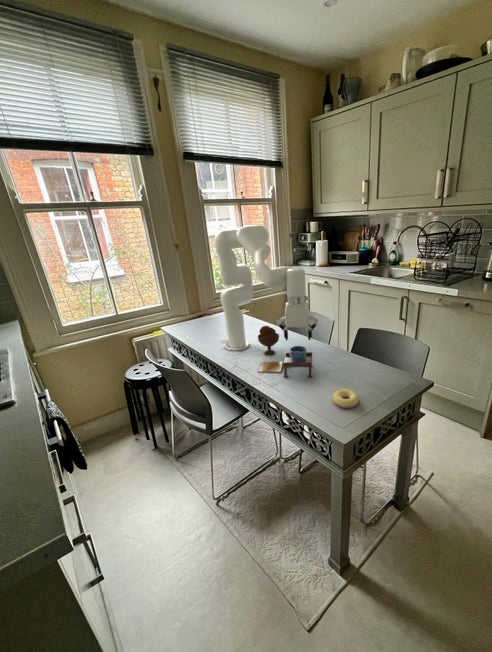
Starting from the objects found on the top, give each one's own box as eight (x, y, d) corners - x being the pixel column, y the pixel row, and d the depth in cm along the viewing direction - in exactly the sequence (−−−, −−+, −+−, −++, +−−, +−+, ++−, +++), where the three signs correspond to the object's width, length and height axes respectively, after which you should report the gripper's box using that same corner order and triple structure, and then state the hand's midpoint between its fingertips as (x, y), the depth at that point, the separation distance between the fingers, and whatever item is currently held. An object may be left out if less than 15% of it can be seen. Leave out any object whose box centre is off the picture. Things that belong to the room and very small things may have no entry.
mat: (258, 372, 143) (258, 371, 142) (262, 362, 152) (262, 361, 151) (280, 372, 142) (280, 371, 141) (282, 362, 151) (282, 361, 150)
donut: (357, 401, 121) (333, 395, 123) (360, 390, 120) (336, 385, 122) (356, 412, 112) (330, 406, 114) (359, 401, 111) (332, 394, 113)
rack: (284, 377, 137) (283, 362, 134) (286, 366, 147) (285, 352, 144) (311, 377, 136) (311, 362, 133) (312, 366, 146) (312, 352, 143)
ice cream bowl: (278, 358, 156) (276, 329, 149) (256, 357, 158) (253, 328, 152) (282, 349, 165) (280, 322, 159) (261, 348, 167) (259, 321, 161)
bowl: (289, 363, 136) (288, 352, 134) (290, 356, 143) (290, 346, 141) (306, 363, 135) (306, 352, 133) (306, 356, 142) (306, 345, 140)
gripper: (318, 297, 130) (318, 335, 137) (276, 298, 132) (279, 336, 139) (317, 301, 124) (318, 342, 131) (274, 302, 126) (277, 342, 132)
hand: (298, 339), depth 135 cm, fingers open, 9 cm apart
